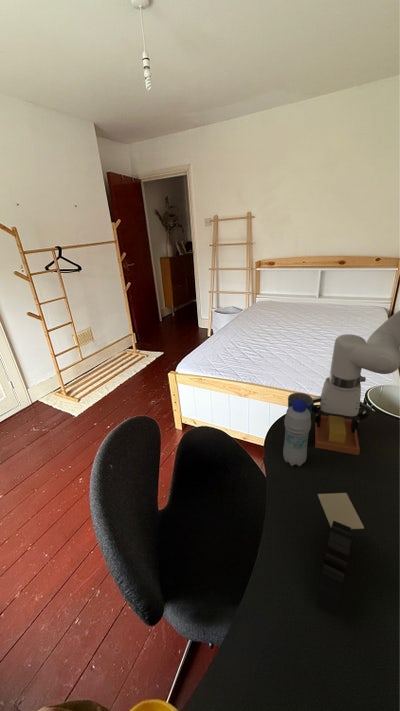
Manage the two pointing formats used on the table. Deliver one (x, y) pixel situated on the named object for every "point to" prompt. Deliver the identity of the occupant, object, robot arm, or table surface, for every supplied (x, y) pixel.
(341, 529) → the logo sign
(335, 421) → the yellow block
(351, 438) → the brown wooden tray
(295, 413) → the bottle
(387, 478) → the table surface
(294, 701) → the table surface
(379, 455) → the table surface
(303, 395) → the cup
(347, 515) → the cloth
